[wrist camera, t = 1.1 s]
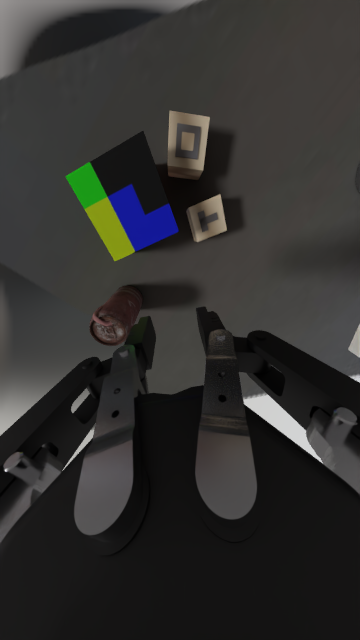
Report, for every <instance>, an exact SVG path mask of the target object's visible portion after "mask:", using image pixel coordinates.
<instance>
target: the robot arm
mask: <svg viewBox="0 0 360 640" xmlns="http://www.w3.org/2000/svg"><path fill="white" fill-rule="evenodd" d="M356 185H357V189H358V191H359V193H360V165H359V167H358V171H357V176H356ZM196 312H197V320H198V327H199V332H200V336H201V339H202V343H203V347H204V351H205V354H206V364H205V377H204V385H202V386H196V387H191V388H188V389H186V390H183V391H181V392H178V393H176V394H173V395H169V394H159V393H149V391H148V384H147V377H146V374H145V373H146V370H149V369H151V368H152V362H153V355H154V348H155V342H156V334H155V330H154V327H153V324H152V320H151V317H150V316H147V317H141V318H140V320H139V322H138V324H135V325H134V326H133V327H132V328H131V330H130V332H129V334H128V337H127V339H126V342H125V344H124V346H121V347H120V348H118V349H117V350H116V351H115V352H114V353H113V357H112V358H110V359H107V360H105V361H102V362H101V361H100V360H99V358H97V357H91V358H88V359H86V360H84V361H82V362H81V363H79V364H78V365H77V366H76V367H75V368H74V369H73V370H72V371H71V372H70V373H68V374H67V375H66V376H65V377H64V378H63V379H62V380H61V381H60V382H59V383H58V384H57V385H56V386H54V387H53V388H52V389H51V390H50V391H49V392H48V393H47V394H46V395H44V396H43V397H42V398H41V399H40V400H39V401H38V402H37V403H36V404H35V405H34V406H32V407H31V409H29V410H28V411H27V412H26V413H25V414H24V415H23V416H22V417H21V418H19V419H18V420H17V421H16V422H15V423H14V424H13V425H12V426H11V427H10V428H8V430H6V431H5V432H4V433H3V434H2V435H1V436H0V640H360V383H359V382H357V381H355V380H354V379H352V378H350V377H348V376H346V375H345V374H343V373H341V372H339V371H337V370H336V369H334V368H332V367H330V366H328V365H327V364H325V363H323V362H321V361H319V360H318V359H316V358H314V357H312V356H310V355H309V354H307V353H305V352H303V351H301V350H300V349H298V348H296V347H294V346H292V345H291V344H289V343H287V342H285V341H283V340H282V339H280V338H278V337H276V336H274V335H273V334H271V333H269V332H266V331H260V330H257V331H252V332H250V333H249V334H248V336H247V338H243V337H235V336H233V335H232V333H231V332H229V331H227V330H226V329H225V327H224V326H223V324H222V322H221V320H220V318H219V316H218V315H217V313H215V312H213V311H211V312H207V309H206V307H199V308H196ZM271 365H273V366H274V367H275V368H277V369H278V370H279V371H281V372H282V373H281V372H279V371H278V370H277V369H275V368H274V367H273V366H271ZM239 372H246V373H247V375H248V376H249V377H250V378H251V379H252V380H253V381H254V382H256V383H257V384H258V385H259V386H260V387H261V388H262V389H263V390H264V391H265V392H266V393H267V394H268V395H269V396H270V397H271V398H272V399H273V400H275V401H276V402H277V403H278V404H279V405H280V406H281V407H282V408H283V409H284V410H285V411H286V412H287V413H288V414H289V415H290V416H292V417H293V418H294V419H295V420H296V421H297V422H298V423H299V424H300V425H301V426H302V427H303V428H304V429H305V430H306V435H307V439H308V442H309V443H310V445H311V447H312V448H313V449H314V450H315V452H316V454H317V455H318V456H319V457H320V458H321V460H322V462H323V464H322V463H321V462H319V461H318V460H317V459H316V458H314V457H313V456H312V455H310V454H309V453H308V452H306V451H305V450H304V449H302V448H301V447H300V446H298V445H297V444H296V443H295V442H293V441H292V440H291V439H289V438H288V437H287V436H285V435H284V434H283V433H281V432H280V431H279V430H277V429H276V428H275V427H273V426H272V425H271V424H269V423H268V422H267V421H265V420H264V419H263V418H261V417H260V416H259V415H257V414H256V413H255V412H253V411H252V410H251V409H250V408H248V407H247V406H246V405H244V402H243V395H242V388H241V382H240V375H239ZM86 388H87V389H88V391H89V392H90V394H89V395H88V397H87V398H86V399H85V400H84V401H83V403H82V404H81V405H80V406H79V407H78V408H77V410H76V411H75V412H74V413H72V412H71V406H72V404H73V402H74V401H75V400H76V399H77V398H78V396H79V395H80V394H81V393H82V392H83V391H84V390H85V389H86ZM95 423H96V424H95ZM94 424H95V429H94V435H93V438H92V439H91V441H90V442H89V443H88V444H87V445H86V446H85V447H84V448H83V449H82V450H81V451H80V452H79V454H78V455H77V456H76V457H75V458H74V459H73V460H72V461H71V462H70V464H69V465H68V466H67V467H66V468H65V469H64V470H63V468H64V467H65V465H66V464H67V463H68V461H69V460H70V458H71V457H72V456H73V454H74V453H75V451H76V450H77V448H78V447H79V446H80V444H81V443H82V441H83V440H84V438H85V437H86V436H87V434H88V433H89V431H90V430H91V428H92V427H93V425H94ZM62 470H63V471H62Z"/></svg>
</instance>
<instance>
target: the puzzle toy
mask: <svg viewBox="0 0 360 640" xmlns="http://www.w3.org/2000/svg"><path fill="white" fill-rule="evenodd" d="M65 177H66V178H67V180H68V182H69V183H70V185H71V187H72V189H73V190H74V192H75V194H76V195H77V197H78V199H79V201H80V202H81V204H82V206H83V207H84V209H85V211H86V213H87V214H88V216H89V218H90V220H91V221H92V223H93V225H94V226H95V228H96V230H97V232H98V233H99V235H100V237H101V238H102V240H103V242H104V244H105V245H106V247H107V249H108V250H109V252H110V254H111V256H112V257H113V259H114V261H117V260H119V259H121V258H123V257H125V256H127V255H130V254H132V253H134V252H136V251H138V250H140V249H142V248H145V247H147V246H149V245H151V244H153V243H155V242H157V241H160V240H162V239H164V238H166V237H168V236H170V235H173V234H175V233H177V232H179V230H178V227H177V224H176V222H175V219H174V216H173V213H172V210H171V207H170V205H169V202H168V199H167V196H166V193H165V191H164V188H163V185H162V182H161V179H160V177H159V174H158V171H157V168H156V165H155V163H154V160H153V157H152V154H151V151H150V149H149V146H148V143H147V140H146V137H145V134H144V132H143V131H142V132H140V133H138V134H137V135H135V136H133V137H132V138H130V139H128V140H126V141H125V142H123V143H121V144H120V145H118V146H116V147H115V148H113V149H111V150H109V151H108V152H106V153H104V154H103V155H101V156H99V157H98V158H96V159H94V160H92V161H91V162H89V163H87V164H86V165H84V166H82V167H81V168H79V169H77V170H76V171H74V172H72V173H70V174H69V175H67V176H65Z"/></svg>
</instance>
